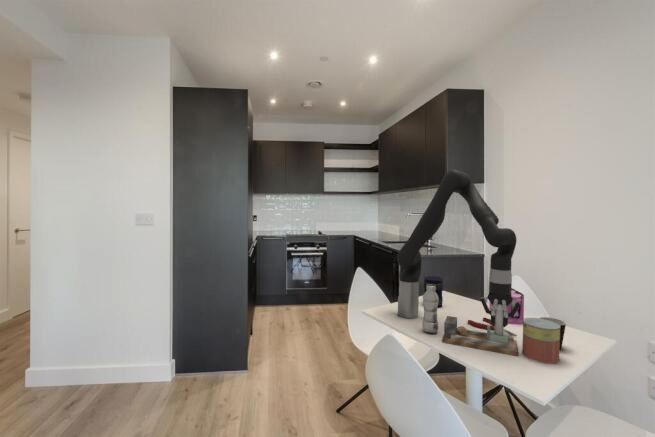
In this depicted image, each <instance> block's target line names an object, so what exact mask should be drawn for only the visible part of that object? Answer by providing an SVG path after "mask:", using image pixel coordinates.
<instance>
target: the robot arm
mask: <svg viewBox="0 0 655 437" xmlns="http://www.w3.org/2000/svg"><path fill="white" fill-rule="evenodd" d="M454 193H457V194H459V195H460V196H461V197H462V198H463V199H464V200H465V202H466V203H467V204H468V207H469V211H470V213H471V215H472V217H473V218H474V220H475V221H476V223H478V226H480V228H481V231H482V233H483V236H484V238H485V240H486V242H487V243H488V244H489V245H490V246H492V247H493V248H497V250H496V252H493V253H492V254H491V255H490V263H489V264H490V266H489V268H490V269H489V277H488V294H487V295H486V296H484V297H483V296H481V297H480V302H481V305H482V307H483V309H484V311H485V314H488V315H490V319H491V324H493V325H494V326H495V310H496V306H497V305H498V304H501V305H502V306H503V310H504V322H503V327H504V328H506V327H507V326H508V325H509V323H508V317H513V316H514V314H515V313H516V311H517V309H518V307H519V306H520V303H519V302H518V301H515V300H513V299H512V297H511V288H513V286H512V283H513V282H512V281H513V276H512V259H513V255H514V253H515V250H516V245H517V235H516V233H515V231H514V230H513V229H511V228H507V227H506V228H505V227H504V228H501V227H500V228H499V227H498V224H499V221H500V220H499V218H498V216H497V215H496V213H495V212H494V211H493V210H492V209H491V208H490V206H489V205H488V204H487V202H485V200H484V198H483V197H482V196H481V194H480V192H479V191H478V189H477V188H476V186H475V184H474V182H473V180H472V178H471V177H470V175H468V174H467V173H465V172H463V171H460V170H459V169H458V170H457V169H451V170H449V171H447V172H446V173H445V174H444V175H443V177H442V179H441V181H440V184H439V185H438V188H437V190H436V192H435V193H434V196H433V197H432V199H431V201H430V202H429V204H428V206H427V208H426V210H425V211H424V212H423V214H422V215H421V217H420V219H419V221H418V223H417V224H416V226H415V227H414V229H413V231H412V233H411V234H410V236H409V238H408V239H407V240H406V242H405V243H404V245H403V246H402V247H401V248H400V250H399V252H398V253H397V255H396V262H397V264H398V265H399V266H400V267H402V268H403V269H402V271H401V273H400V274H399V282H398V283H399V288H398V289H399V290H398V292H399V293H398V296H397V316H399V317H402V318H405V319H416V318H418V317H419V304H420V303H419V299H420V298H419V297H420V295H419V294H420V293H419V291H420V287H419V286H420V277H421V273H422V254H421V252H420V250H421V249H422V248H423V246H424V245H425V244H426V243H427V242H428V241H429V240H430V239H432V238H433V237H434V235H436V233H437V232H438V231H439V229H440V228H441V226H442V225H443V223H444V220H445V218H446V217H445V216H446V208H447V204H448V202H449V200H450V199H451V197H452V195H453V194H454ZM488 301H489V303H490V302H491V304H492V310H491V309H489V306H488V304H487V303H488ZM511 302H512V303H513V304H512V305H513V308H512V310H511V311H510V312H509V313H508V312H507V306H508V305H509V304H510V303H511ZM491 324H490V325H491Z"/></svg>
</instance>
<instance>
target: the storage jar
mask: <svg viewBox="0 0 655 437" xmlns="http://www.w3.org/2000/svg"><path fill="white" fill-rule="evenodd" d="M423 279H424V280H423V288H424V291H423V292H424V293H425V292H426V291H427V289H426V287H427V284H432V285H435V286H436V288H435V289H436V290H435V292H436V293H437V295H438V298H439V301H438V307H437V309H442V308H443V289H444V281H443V280H444V279H443V278H442V277H440V276H429V275H428V276H424V277H423ZM424 293H423V294H424Z"/></svg>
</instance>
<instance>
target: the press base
mask: <svg viewBox="0 0 655 437" xmlns="http://www.w3.org/2000/svg"><path fill="white" fill-rule="evenodd" d="M443 322H444V323H443V325H444V327H443V328H444V330H443V335H442V338H441V343H442V344H443V343H445V344H450V345H454V346H460V347H466V348H472V349H477V350H481V351H487V352H493V353H498V354H504V355H510V356H515V357H519V348H518V342H517V340H516V339H515V338H514V337H515V336H512V337H510V336H508V344H506V343H500V342H494V341H488V340H487V332H484V331H479V330H471V329H467V328H466V327H465V326H463V325H460V326H458V317H457V316H450V315H446V318H445V320H444V321H443Z"/></svg>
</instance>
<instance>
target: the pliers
mask: <svg viewBox="0 0 655 437" xmlns="http://www.w3.org/2000/svg"><path fill="white" fill-rule="evenodd" d="M482 322H483V323H482ZM482 322H477V321H474V320H472V319H468V320H467V325H469V326H472V327H473V328H477V329H480V330H485V331H487V324H488V325H490V330H494V327H495V326H494V325H493V324H491V318H487V317H483V318H482ZM485 323H487V324H485ZM503 332H507V334H508V336H510V337H518V335H517V334H515V333H513V332H511V331H510V330H507V329H505V327H503Z"/></svg>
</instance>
